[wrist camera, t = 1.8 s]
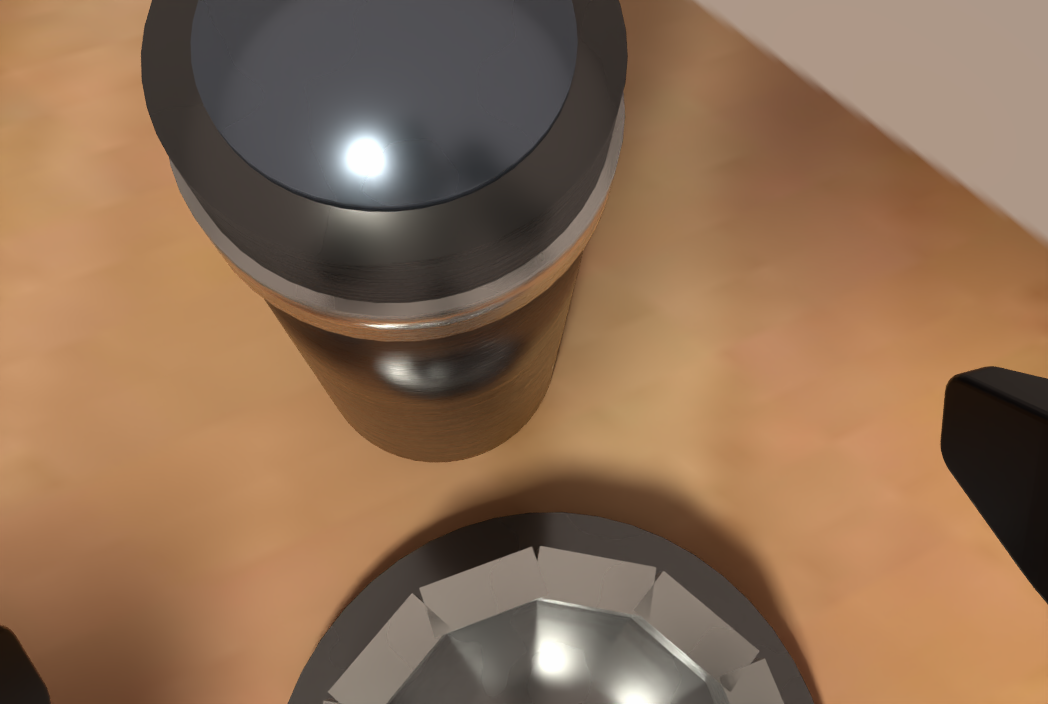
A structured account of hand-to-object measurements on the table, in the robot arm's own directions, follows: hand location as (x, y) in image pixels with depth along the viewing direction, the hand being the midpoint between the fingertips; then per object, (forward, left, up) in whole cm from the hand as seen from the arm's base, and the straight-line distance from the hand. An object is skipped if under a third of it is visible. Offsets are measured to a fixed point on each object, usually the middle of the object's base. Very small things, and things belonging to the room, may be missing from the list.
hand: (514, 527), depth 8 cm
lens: (+5, +2, -12) cm, 13 cm away
